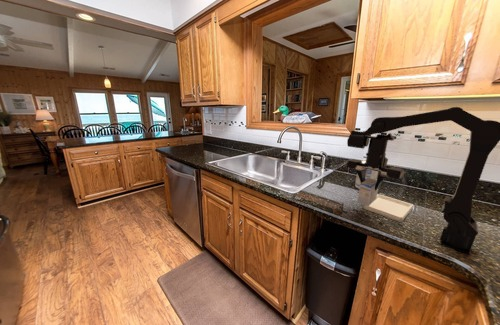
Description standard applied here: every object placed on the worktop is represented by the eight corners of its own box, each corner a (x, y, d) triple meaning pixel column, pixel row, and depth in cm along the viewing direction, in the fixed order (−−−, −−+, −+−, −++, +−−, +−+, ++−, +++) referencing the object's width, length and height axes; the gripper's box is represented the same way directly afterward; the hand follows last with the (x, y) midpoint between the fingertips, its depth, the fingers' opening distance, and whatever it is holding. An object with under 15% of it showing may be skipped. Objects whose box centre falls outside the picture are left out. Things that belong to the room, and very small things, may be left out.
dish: (412, 208, 86) (413, 204, 85) (401, 222, 75) (402, 218, 74) (377, 197, 96) (378, 193, 96) (362, 208, 85) (363, 204, 85)
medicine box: (364, 196, 84) (367, 177, 81) (376, 200, 81) (379, 180, 78) (356, 202, 79) (360, 183, 76) (368, 206, 76) (372, 186, 73)
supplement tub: (360, 191, 103) (365, 165, 99) (351, 184, 113) (355, 160, 109) (378, 191, 103) (384, 165, 99) (368, 184, 112) (372, 160, 109)
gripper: (412, 152, 72) (402, 190, 76) (359, 144, 86) (354, 177, 90) (404, 156, 65) (394, 198, 69) (348, 147, 79) (342, 183, 83)
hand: (369, 188), depth 78 cm, fingers closed on medicine box, 4 cm apart
